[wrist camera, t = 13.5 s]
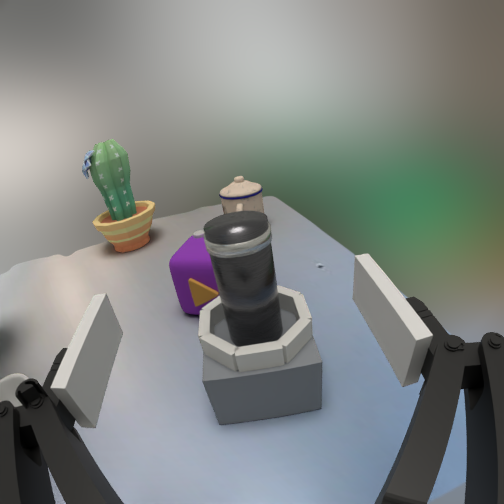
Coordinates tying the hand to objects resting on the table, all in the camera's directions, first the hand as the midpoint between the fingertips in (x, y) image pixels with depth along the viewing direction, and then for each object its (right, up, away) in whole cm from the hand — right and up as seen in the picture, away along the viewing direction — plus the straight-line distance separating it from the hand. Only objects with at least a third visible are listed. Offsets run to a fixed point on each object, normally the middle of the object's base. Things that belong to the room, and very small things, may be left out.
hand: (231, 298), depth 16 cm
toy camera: (-2, -5, +31) cm, 32 cm away
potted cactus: (-27, +4, +57) cm, 63 cm away
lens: (+1, -5, +14) cm, 15 cm away
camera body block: (+2, -11, +17) cm, 20 cm away
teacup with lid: (0, +7, +54) cm, 54 cm away
